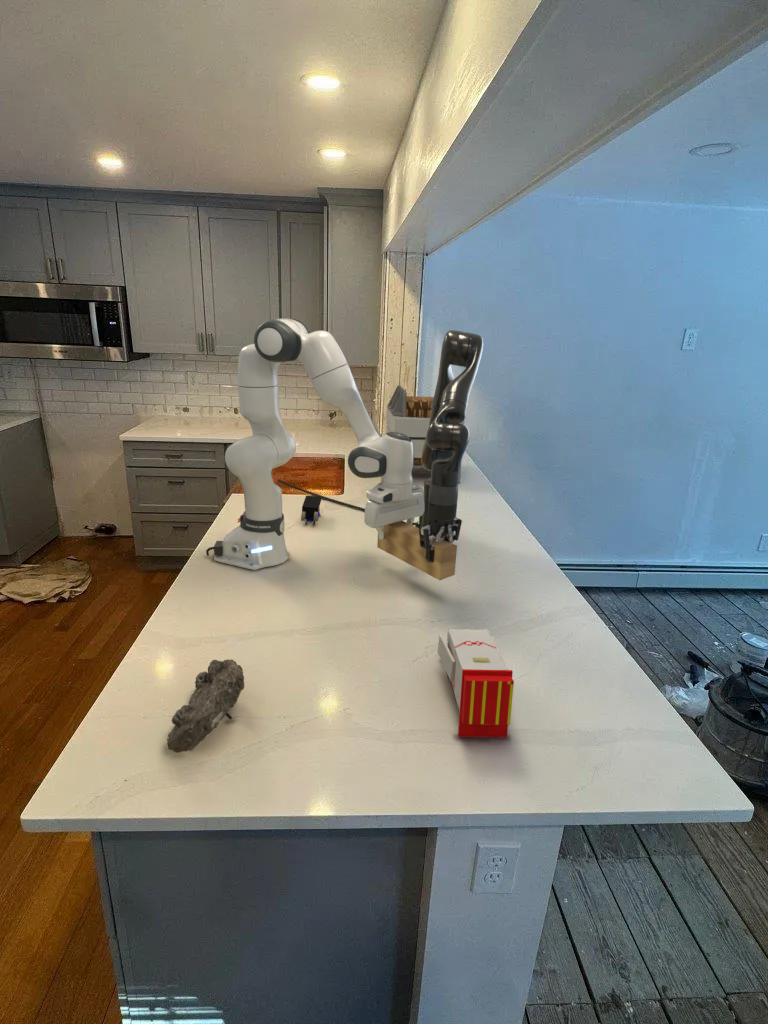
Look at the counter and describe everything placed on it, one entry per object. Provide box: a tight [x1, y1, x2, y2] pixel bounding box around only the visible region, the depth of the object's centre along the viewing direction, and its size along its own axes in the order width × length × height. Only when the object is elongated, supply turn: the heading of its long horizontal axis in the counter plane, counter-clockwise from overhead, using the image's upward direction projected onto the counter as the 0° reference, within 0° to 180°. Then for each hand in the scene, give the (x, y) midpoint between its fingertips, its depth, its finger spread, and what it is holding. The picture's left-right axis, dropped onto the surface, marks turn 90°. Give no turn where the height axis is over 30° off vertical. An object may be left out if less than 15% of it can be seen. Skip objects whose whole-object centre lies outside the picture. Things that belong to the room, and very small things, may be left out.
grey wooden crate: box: [385, 384, 465, 484], centre depth 268 cm, size 34×33×41 cm
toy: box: [437, 628, 515, 738], centre depth 117 cm, size 12×13×30 cm
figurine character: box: [300, 495, 323, 526], centre depth 207 cm, size 7×8×15 cm
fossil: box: [166, 658, 245, 754], centre depth 106 cm, size 22×10×15 cm
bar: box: [376, 520, 458, 581], centre depth 159 cm, size 26×6×9 cm, turn 40°
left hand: (394, 535), depth 165 cm, fingers open, 8 cm apart
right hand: (438, 558), depth 153 cm, fingers closed on bar, 5 cm apart
